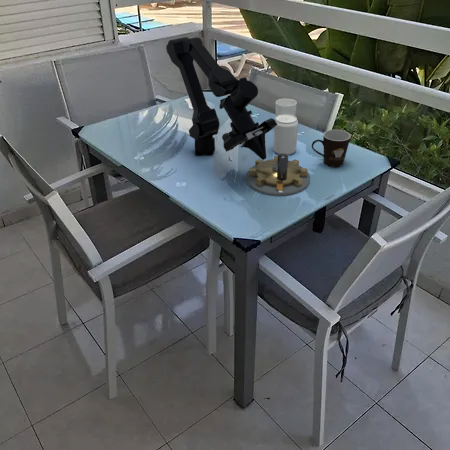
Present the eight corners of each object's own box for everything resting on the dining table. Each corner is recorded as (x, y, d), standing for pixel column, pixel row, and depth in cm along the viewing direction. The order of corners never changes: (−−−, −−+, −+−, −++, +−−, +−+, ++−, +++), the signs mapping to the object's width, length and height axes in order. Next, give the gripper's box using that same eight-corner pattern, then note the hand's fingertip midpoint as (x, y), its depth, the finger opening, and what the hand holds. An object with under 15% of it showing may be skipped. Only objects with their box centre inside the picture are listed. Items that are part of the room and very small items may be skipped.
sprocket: (271, 196, 140) (272, 167, 134) (238, 171, 152) (238, 143, 147) (318, 179, 147) (321, 151, 142) (283, 156, 160) (285, 130, 154)
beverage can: (295, 156, 163) (297, 123, 156) (271, 155, 164) (272, 122, 158) (296, 146, 170) (299, 114, 163) (274, 144, 171) (275, 113, 164)
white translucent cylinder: (272, 123, 186) (273, 98, 180) (292, 122, 187) (294, 97, 181) (276, 132, 180) (277, 106, 174) (296, 130, 180) (298, 105, 175)
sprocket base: (246, 196, 143) (247, 192, 142) (245, 164, 159) (245, 161, 158) (314, 195, 142) (314, 191, 142) (305, 163, 159) (305, 160, 158)
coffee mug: (348, 158, 161) (352, 131, 155) (344, 170, 154) (348, 142, 149) (313, 154, 164) (316, 127, 159) (309, 165, 158) (311, 137, 152)
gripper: (245, 117, 155) (269, 159, 155) (203, 135, 145) (229, 180, 145) (264, 100, 146) (290, 144, 146) (221, 118, 135) (249, 166, 135)
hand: (264, 159), depth 143 cm, fingers closed
